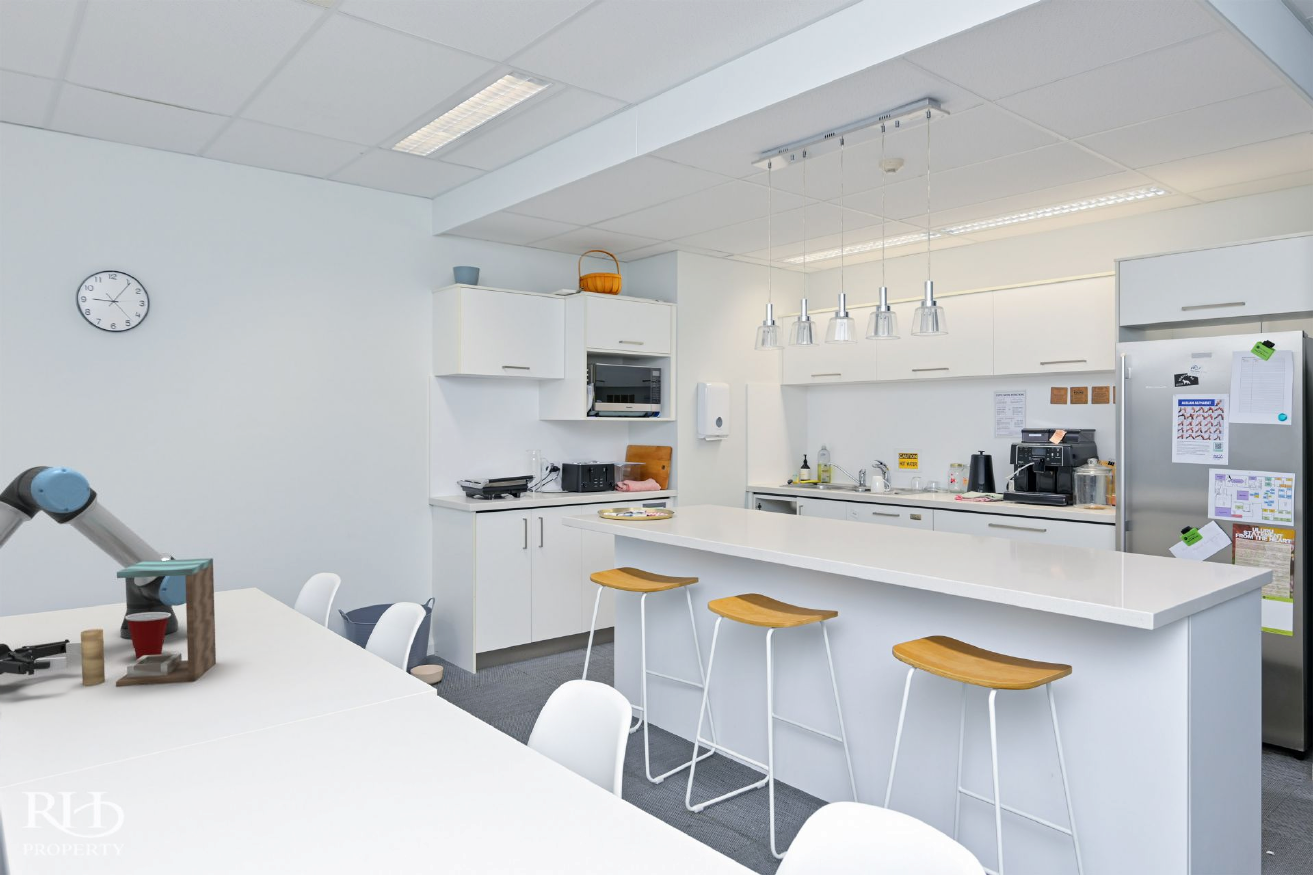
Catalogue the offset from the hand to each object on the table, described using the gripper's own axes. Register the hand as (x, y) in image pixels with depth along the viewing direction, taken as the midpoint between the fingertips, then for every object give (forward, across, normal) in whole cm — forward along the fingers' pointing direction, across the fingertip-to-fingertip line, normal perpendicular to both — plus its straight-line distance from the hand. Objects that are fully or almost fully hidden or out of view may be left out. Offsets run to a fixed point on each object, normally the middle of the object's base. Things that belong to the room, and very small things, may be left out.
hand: (81, 654), depth 202 cm
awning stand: (+18, -4, -7) cm, 20 cm away
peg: (+2, 0, -7) cm, 8 cm away
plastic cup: (+7, -20, -8) cm, 23 cm away
